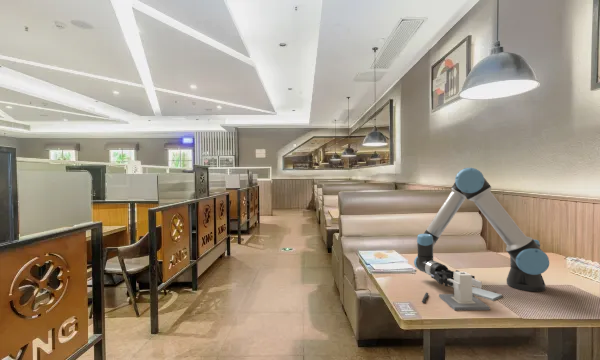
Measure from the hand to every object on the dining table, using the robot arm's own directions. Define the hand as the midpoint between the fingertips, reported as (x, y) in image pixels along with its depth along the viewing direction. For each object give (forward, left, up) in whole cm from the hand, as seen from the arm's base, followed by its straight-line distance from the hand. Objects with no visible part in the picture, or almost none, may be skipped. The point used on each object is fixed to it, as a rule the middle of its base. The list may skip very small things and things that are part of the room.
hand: (470, 286), depth 123 cm
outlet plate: (+1, -4, -9) cm, 10 cm away
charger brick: (+1, -5, -7) cm, 8 cm away
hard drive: (-13, -14, -9) cm, 21 cm away
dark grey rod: (+15, -9, -9) cm, 20 cm away
